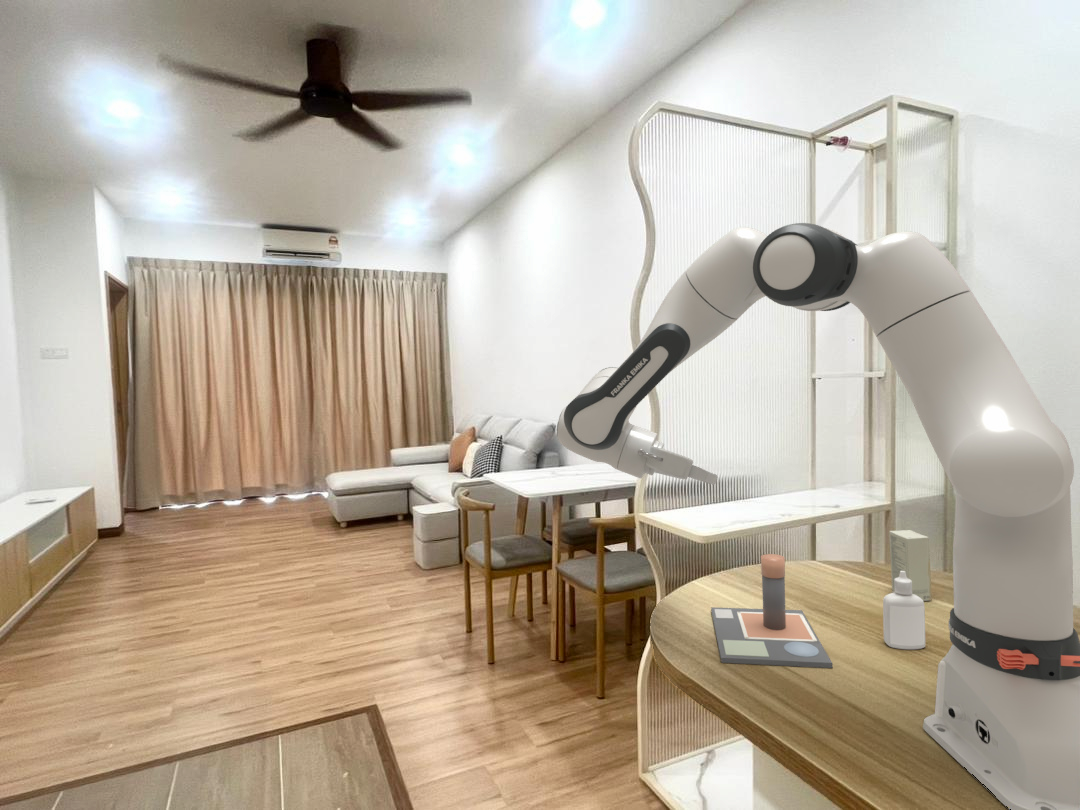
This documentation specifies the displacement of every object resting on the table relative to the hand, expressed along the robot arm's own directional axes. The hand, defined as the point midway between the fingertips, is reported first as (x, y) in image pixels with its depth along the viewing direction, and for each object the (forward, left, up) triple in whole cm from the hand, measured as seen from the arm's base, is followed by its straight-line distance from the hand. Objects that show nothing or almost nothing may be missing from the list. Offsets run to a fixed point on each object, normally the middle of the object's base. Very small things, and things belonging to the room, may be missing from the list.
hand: (714, 480), depth 105 cm
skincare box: (+16, -37, -26) cm, 48 cm away
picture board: (-5, -7, -26) cm, 27 cm away
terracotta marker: (-3, -9, -25) cm, 27 cm away
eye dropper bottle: (-6, -28, -26) cm, 39 cm away
